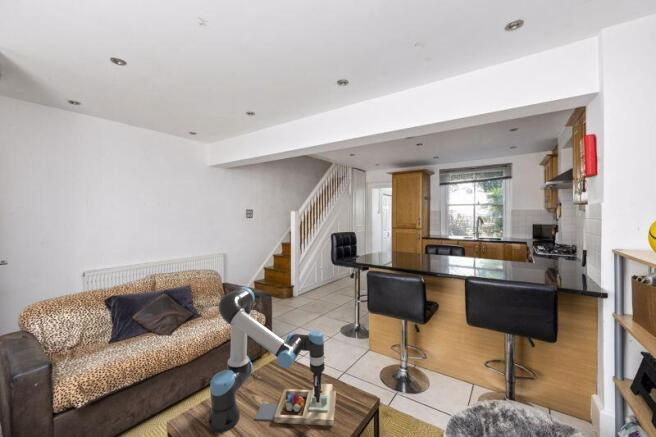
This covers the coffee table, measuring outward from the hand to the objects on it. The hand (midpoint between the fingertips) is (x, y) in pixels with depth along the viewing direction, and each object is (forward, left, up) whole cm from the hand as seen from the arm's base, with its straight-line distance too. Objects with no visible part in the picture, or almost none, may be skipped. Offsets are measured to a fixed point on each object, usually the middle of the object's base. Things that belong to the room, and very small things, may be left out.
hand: (318, 406), depth 142 cm
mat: (-27, +1, -5) cm, 27 cm away
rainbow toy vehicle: (-14, +5, -5) cm, 16 cm away
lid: (0, +5, -2) cm, 5 cm away
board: (-7, +8, -5) cm, 12 cm away
